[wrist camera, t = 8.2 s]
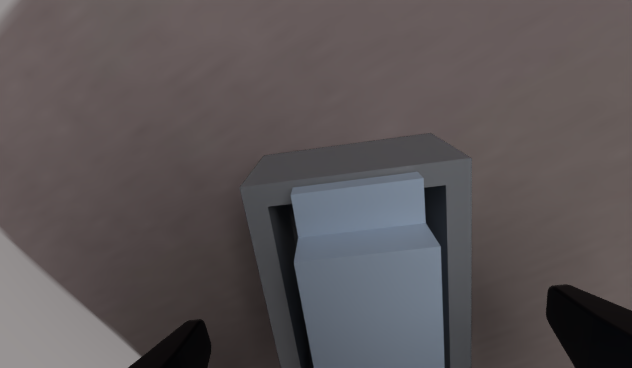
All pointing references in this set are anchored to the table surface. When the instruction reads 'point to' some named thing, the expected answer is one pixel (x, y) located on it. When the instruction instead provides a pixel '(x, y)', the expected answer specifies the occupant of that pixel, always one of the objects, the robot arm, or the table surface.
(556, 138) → the table surface
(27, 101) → the table surface
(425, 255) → the block
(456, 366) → the pocket block
